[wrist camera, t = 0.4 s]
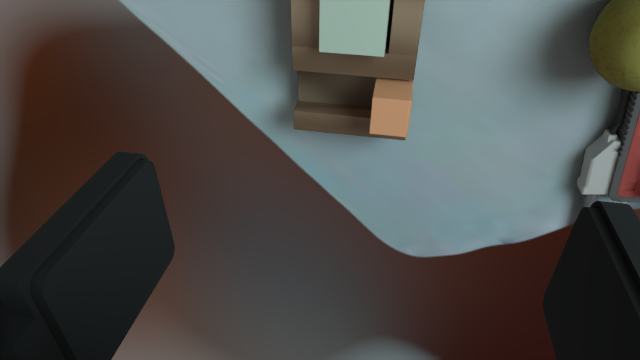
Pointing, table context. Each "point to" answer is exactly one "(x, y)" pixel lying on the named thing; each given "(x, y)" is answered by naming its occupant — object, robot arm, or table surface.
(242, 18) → the table surface
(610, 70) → the apple
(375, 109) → the slider
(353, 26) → the button
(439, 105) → the table surface
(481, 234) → the table surface
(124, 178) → the robot arm
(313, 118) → the brown wooden tray
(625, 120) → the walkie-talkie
